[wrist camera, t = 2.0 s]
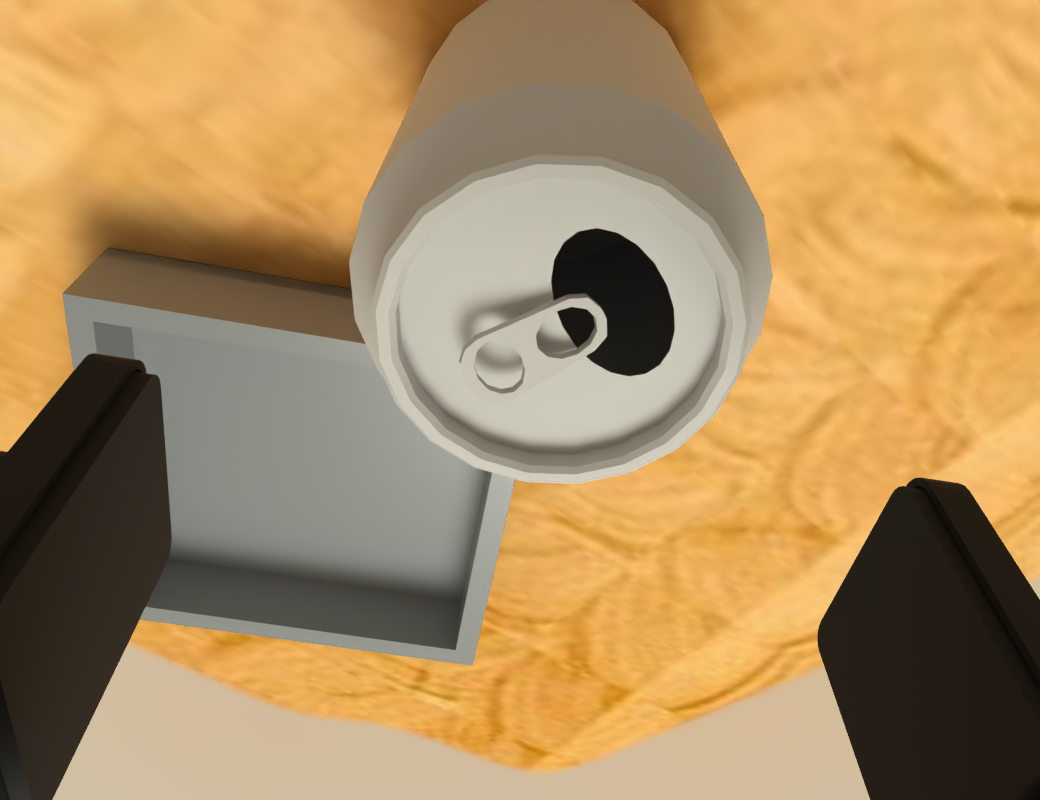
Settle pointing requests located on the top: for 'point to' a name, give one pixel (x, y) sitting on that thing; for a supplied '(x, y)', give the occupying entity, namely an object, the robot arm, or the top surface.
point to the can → (559, 246)
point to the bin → (293, 465)
